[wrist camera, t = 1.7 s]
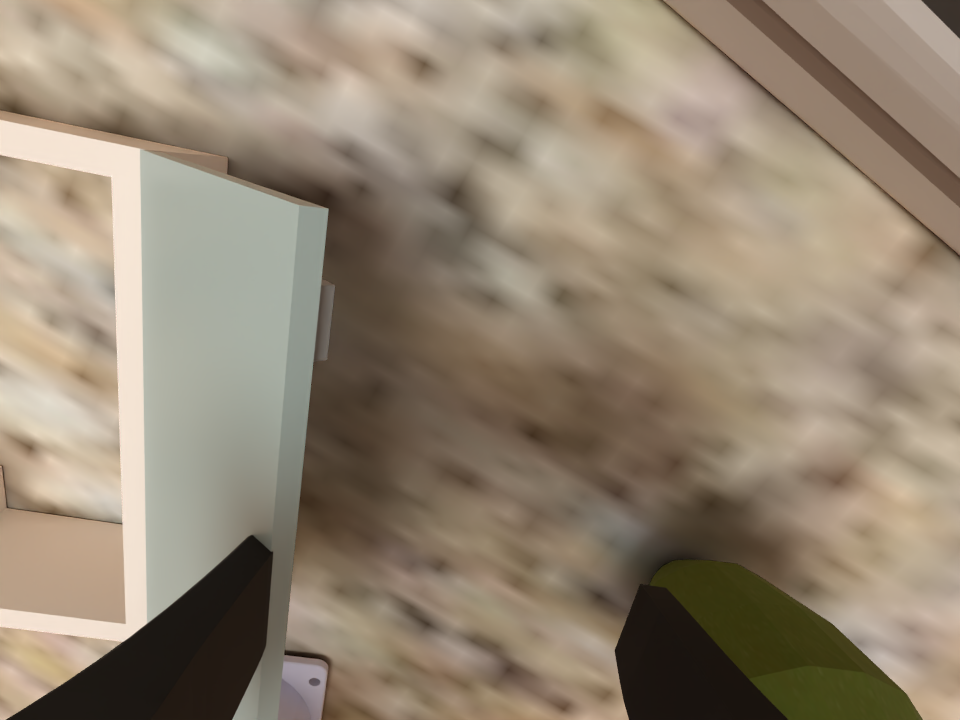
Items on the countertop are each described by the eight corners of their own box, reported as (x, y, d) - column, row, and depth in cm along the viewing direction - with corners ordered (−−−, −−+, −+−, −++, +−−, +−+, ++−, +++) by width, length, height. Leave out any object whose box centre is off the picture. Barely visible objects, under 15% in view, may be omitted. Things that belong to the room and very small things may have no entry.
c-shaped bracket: (213, 552, 22) (151, 645, 18) (-12, 521, 21) (-136, 609, 17) (227, 157, 17) (145, 149, 12) (-69, 95, 16) (-269, 64, 12)
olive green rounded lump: (782, 633, 24) (1038, 1002, 13) (606, 670, 25) (716, 1054, 14) (770, 479, 21) (1084, 789, 11) (572, 524, 22) (678, 864, 11)
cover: (147, 649, 17) (176, 636, 18) (245, 858, 13) (280, 830, 14) (140, 149, 12) (181, 155, 13) (299, 205, 8) (350, 211, 8)
